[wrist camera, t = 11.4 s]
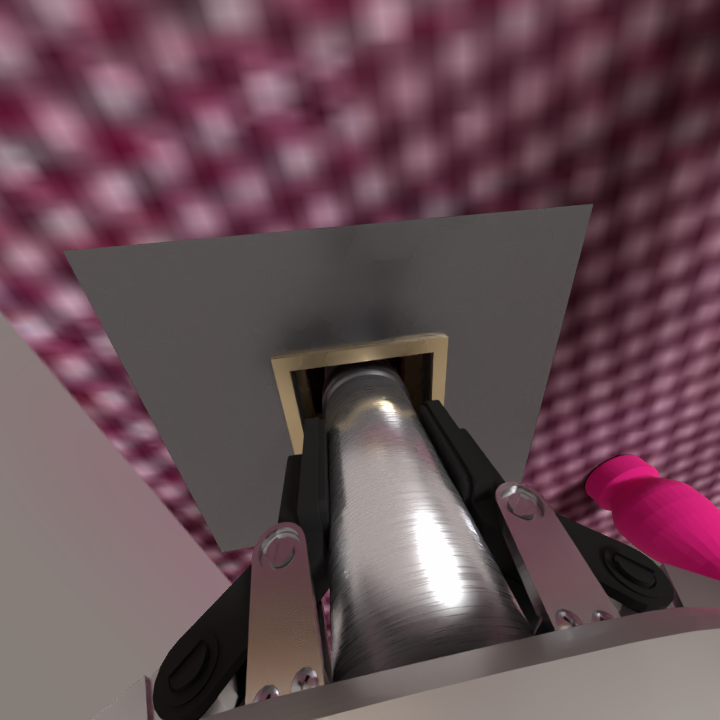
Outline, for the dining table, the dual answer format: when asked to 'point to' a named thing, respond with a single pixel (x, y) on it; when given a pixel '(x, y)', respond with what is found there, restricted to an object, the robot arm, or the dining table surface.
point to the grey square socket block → (333, 337)
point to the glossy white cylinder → (401, 537)
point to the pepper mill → (659, 514)
